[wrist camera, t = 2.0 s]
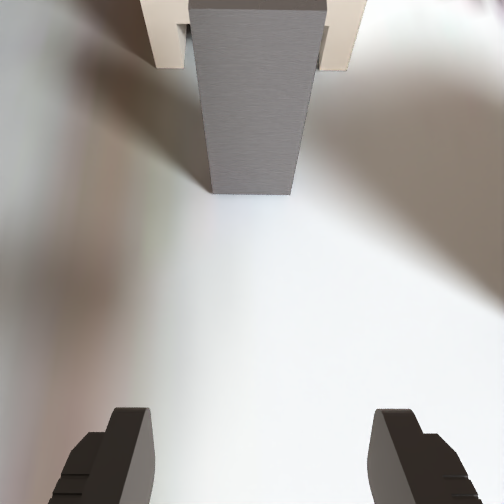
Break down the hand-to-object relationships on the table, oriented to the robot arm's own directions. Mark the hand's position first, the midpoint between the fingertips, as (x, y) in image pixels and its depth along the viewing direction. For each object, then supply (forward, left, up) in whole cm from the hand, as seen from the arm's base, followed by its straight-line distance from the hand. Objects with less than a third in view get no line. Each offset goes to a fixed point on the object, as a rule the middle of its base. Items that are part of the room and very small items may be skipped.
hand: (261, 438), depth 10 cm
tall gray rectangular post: (-15, +15, -15) cm, 26 cm away
